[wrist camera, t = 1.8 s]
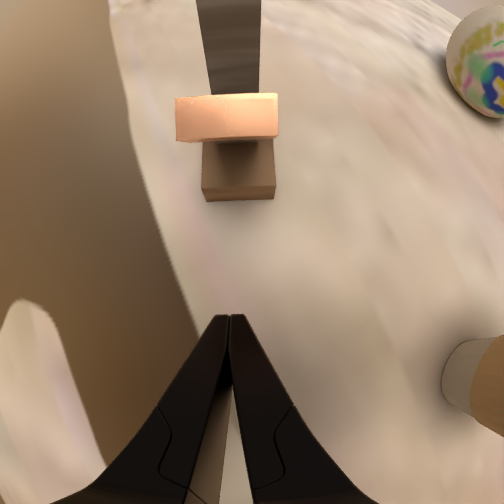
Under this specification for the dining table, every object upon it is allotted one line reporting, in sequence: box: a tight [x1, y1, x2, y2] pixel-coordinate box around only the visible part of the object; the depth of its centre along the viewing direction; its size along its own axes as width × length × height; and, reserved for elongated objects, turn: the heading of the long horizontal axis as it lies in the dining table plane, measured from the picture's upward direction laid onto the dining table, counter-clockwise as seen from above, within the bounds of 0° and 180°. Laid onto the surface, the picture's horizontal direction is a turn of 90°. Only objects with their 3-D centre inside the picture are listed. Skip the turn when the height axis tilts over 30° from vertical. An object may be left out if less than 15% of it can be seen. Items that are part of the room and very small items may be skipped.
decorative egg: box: [446, 5, 504, 118], centre depth 19 cm, size 12×12×15 cm
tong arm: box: [175, 93, 278, 144], centre depth 14 cm, size 1×3×12 cm, turn 92°
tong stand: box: [196, 0, 276, 202], centre depth 16 cm, size 7×5×15 cm
